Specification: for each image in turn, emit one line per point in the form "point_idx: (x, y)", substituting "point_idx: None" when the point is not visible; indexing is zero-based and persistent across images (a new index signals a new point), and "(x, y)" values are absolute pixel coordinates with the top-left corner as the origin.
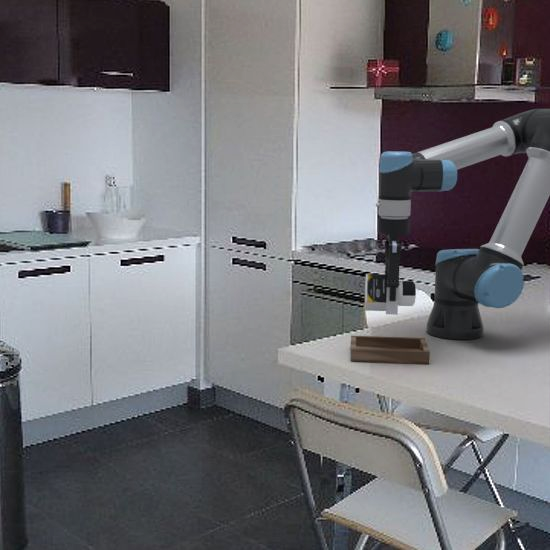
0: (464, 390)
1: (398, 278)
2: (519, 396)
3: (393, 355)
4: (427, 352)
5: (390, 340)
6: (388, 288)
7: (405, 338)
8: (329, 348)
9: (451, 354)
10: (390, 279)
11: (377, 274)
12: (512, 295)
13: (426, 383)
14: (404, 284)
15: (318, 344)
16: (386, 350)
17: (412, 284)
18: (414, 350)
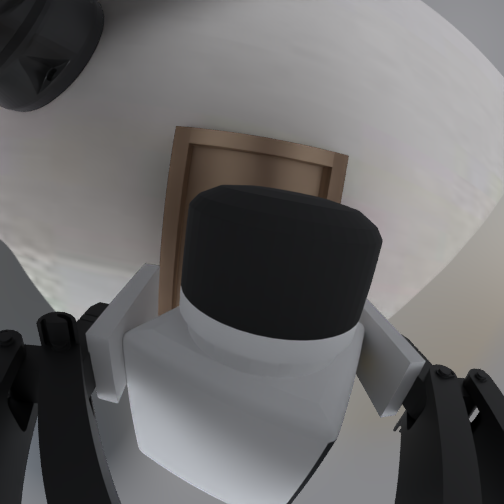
0: (478, 158)
1: (501, 397)
2: (490, 90)
3: None
4: (347, 162)
5: (178, 236)
6: (396, 403)
7: (181, 190)
8: None
9: (237, 69)
10: (472, 428)
11: (288, 501)
12: None
13: (449, 212)
14: (350, 318)
15: None
16: None
17: (369, 250)
18: (328, 196)
